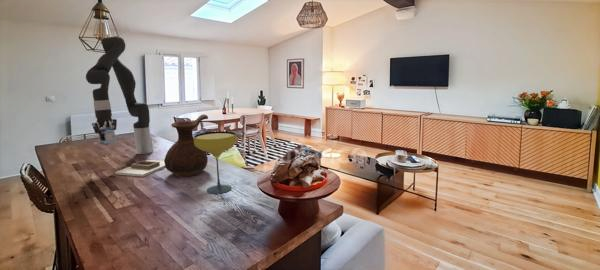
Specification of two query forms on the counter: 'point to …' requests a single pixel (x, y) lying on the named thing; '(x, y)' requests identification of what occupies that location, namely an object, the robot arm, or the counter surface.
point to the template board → (142, 168)
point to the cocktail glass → (216, 151)
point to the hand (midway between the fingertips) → (107, 139)
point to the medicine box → (108, 137)
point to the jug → (186, 151)
